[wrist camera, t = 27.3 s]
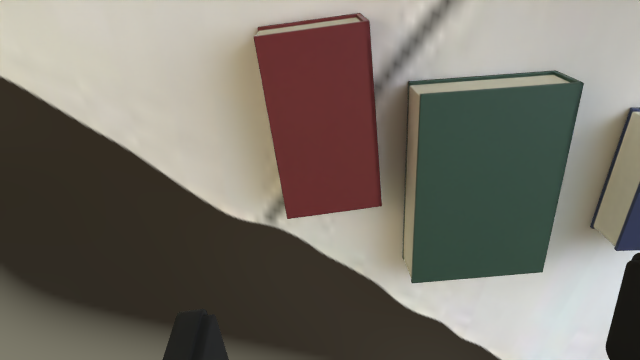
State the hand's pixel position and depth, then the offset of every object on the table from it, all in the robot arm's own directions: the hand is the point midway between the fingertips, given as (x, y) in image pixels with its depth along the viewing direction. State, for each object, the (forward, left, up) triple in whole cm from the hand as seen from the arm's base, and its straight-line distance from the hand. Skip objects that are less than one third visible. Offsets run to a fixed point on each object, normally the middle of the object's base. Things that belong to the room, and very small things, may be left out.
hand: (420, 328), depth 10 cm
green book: (-11, +9, -24) cm, 28 cm away
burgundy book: (+1, +3, -24) cm, 24 cm away
